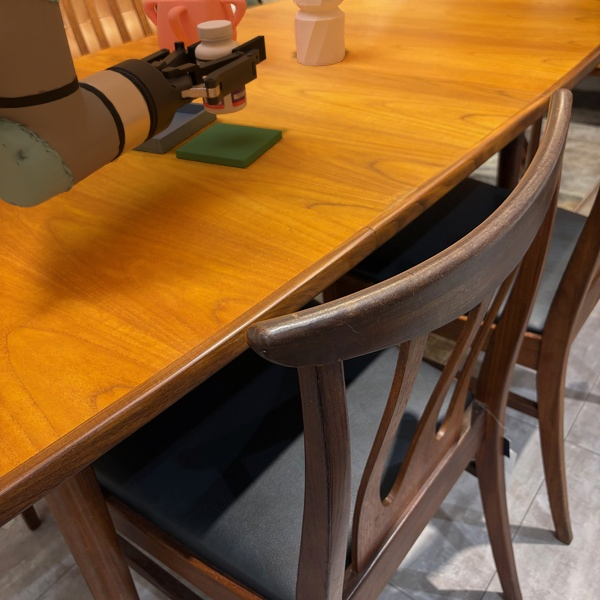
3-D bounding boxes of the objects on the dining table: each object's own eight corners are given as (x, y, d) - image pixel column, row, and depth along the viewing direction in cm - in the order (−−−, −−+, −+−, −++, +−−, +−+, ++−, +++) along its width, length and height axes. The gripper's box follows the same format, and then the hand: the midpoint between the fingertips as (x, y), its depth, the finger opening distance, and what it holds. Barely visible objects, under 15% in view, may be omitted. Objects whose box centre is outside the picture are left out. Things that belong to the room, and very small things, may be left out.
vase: (298, 67, 106) (294, -9, 98) (294, 54, 113) (290, -19, 105) (349, 63, 106) (348, -14, 99) (341, 50, 113) (340, -23, 106)
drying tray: (84, 142, 84) (80, 127, 82) (143, 109, 93) (140, 96, 92) (162, 154, 79) (159, 139, 77) (217, 118, 88) (215, 104, 87)
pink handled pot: (182, 80, 104) (168, -5, 96) (145, 61, 114) (129, -17, 107) (265, 59, 111) (258, -21, 103) (223, 44, 122) (214, -31, 114)
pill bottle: (241, 97, 79) (231, 16, 73) (252, 110, 74) (242, 25, 69) (200, 104, 77) (186, 22, 72) (208, 118, 73) (195, 31, 67)
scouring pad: (176, 157, 77) (175, 150, 77) (218, 129, 84) (217, 122, 84) (245, 168, 74) (244, 160, 73) (282, 137, 81) (281, 130, 80)
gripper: (62, 135, 65) (184, 71, 82) (207, 156, 58) (309, 82, 75) (40, 62, 61) (174, 10, 77) (194, 75, 54) (306, 16, 70)
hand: (240, 46), depth 76 cm, fingers closed on pill bottle, 5 cm apart
